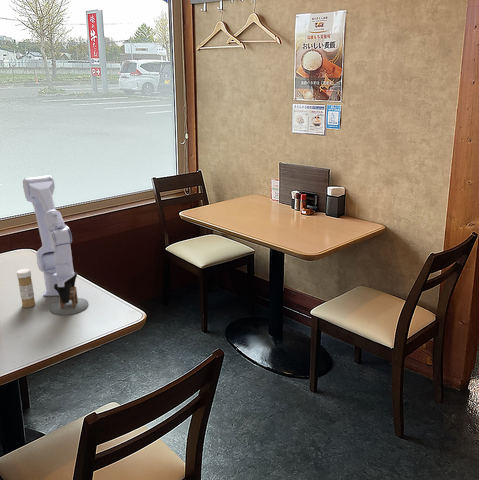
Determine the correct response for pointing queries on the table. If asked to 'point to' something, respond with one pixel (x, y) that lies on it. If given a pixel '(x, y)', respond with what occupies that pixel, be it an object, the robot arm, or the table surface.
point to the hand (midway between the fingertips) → (68, 297)
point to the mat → (69, 307)
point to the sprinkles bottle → (26, 287)
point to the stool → (71, 298)
